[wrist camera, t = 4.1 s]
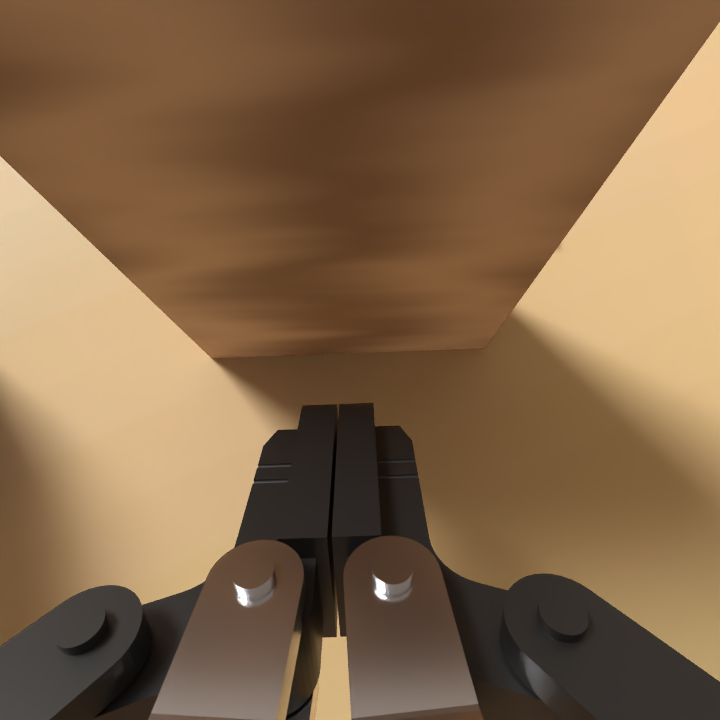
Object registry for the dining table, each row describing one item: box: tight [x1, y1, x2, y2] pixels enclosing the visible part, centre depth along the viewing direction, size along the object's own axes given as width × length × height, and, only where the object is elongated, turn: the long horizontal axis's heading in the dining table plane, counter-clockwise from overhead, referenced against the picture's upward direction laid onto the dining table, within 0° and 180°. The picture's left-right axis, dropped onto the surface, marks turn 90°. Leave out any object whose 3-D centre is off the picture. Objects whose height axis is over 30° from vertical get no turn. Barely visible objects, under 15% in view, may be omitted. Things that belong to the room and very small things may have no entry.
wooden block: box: [0, 0, 720, 358], centre depth 11 cm, size 10×3×13 cm, turn 92°
